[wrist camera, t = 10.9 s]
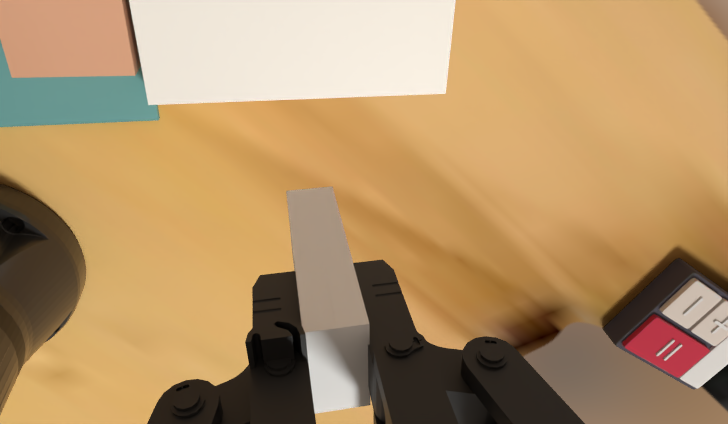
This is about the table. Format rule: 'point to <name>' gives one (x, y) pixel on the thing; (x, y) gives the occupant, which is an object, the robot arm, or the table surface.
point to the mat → (72, 99)
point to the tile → (68, 38)
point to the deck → (291, 48)
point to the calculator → (676, 325)
